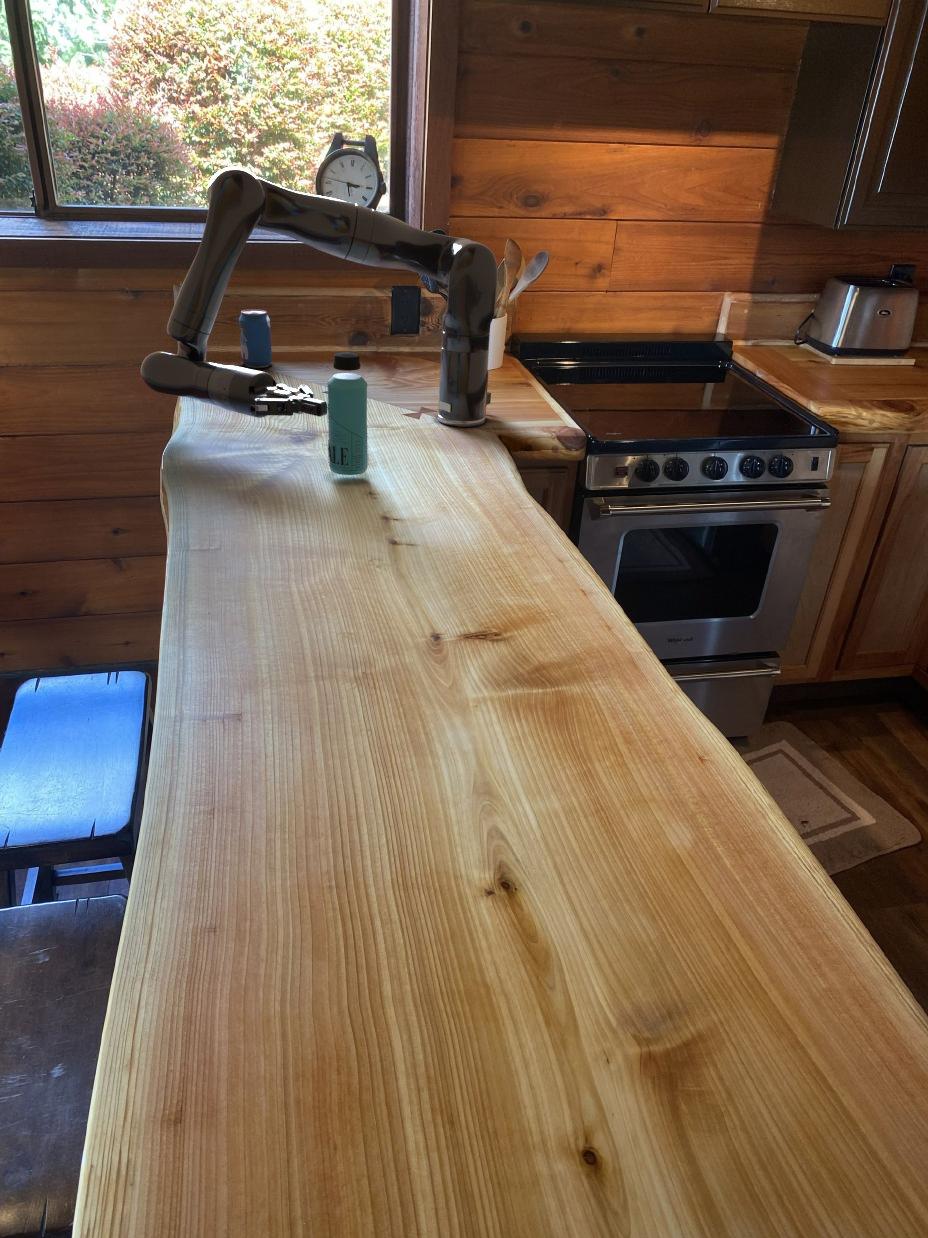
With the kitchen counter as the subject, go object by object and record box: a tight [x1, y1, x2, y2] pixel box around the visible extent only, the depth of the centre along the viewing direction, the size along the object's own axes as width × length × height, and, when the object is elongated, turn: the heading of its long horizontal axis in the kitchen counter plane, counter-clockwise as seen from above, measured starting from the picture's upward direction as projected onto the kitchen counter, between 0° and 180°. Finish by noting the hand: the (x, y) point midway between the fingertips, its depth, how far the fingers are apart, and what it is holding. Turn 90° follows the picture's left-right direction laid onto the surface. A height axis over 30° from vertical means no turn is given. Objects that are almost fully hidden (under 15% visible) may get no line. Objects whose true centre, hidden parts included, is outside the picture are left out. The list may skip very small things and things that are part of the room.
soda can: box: [238, 308, 273, 369], centre depth 207 cm, size 7×7×12 cm
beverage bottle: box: [326, 351, 369, 476], centre depth 142 cm, size 6×7×20 cm
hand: (324, 409), depth 144 cm, fingers closed
